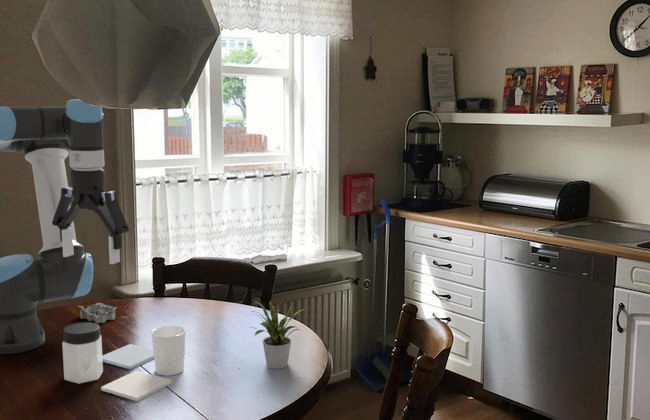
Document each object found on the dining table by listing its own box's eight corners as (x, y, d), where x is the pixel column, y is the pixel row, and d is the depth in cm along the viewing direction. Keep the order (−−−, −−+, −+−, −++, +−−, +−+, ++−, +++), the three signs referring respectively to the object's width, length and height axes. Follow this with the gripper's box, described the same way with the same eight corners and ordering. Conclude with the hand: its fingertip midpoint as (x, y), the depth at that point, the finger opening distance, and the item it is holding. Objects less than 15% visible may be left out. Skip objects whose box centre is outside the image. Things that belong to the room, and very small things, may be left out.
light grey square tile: (98, 360, 175) (98, 357, 175) (130, 346, 184) (130, 343, 184) (130, 369, 170) (130, 366, 170) (161, 354, 179) (161, 351, 179)
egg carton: (76, 318, 208) (75, 304, 207) (98, 311, 213) (97, 299, 213) (97, 325, 201) (97, 311, 200) (119, 318, 207) (119, 305, 206)
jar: (68, 386, 160) (66, 336, 158) (60, 374, 166) (57, 326, 164) (108, 378, 165) (105, 329, 163) (98, 366, 171) (96, 319, 169)
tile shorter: (101, 390, 158) (101, 386, 158) (136, 373, 167) (136, 370, 167) (137, 401, 153) (136, 397, 152) (171, 383, 162) (171, 380, 162)
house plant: (231, 365, 172) (230, 302, 170) (268, 349, 183) (267, 289, 181) (275, 380, 164) (275, 313, 161) (311, 362, 175) (311, 299, 172)
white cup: (172, 361, 175) (171, 323, 173) (193, 369, 170) (192, 330, 168) (146, 371, 169) (144, 331, 167) (166, 380, 164) (165, 339, 162)
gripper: (32, 166, 159) (37, 256, 163) (120, 174, 150) (124, 269, 154) (56, 162, 166) (61, 249, 170) (142, 170, 157) (145, 261, 161)
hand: (91, 259), depth 162 cm, fingers open, 13 cm apart
